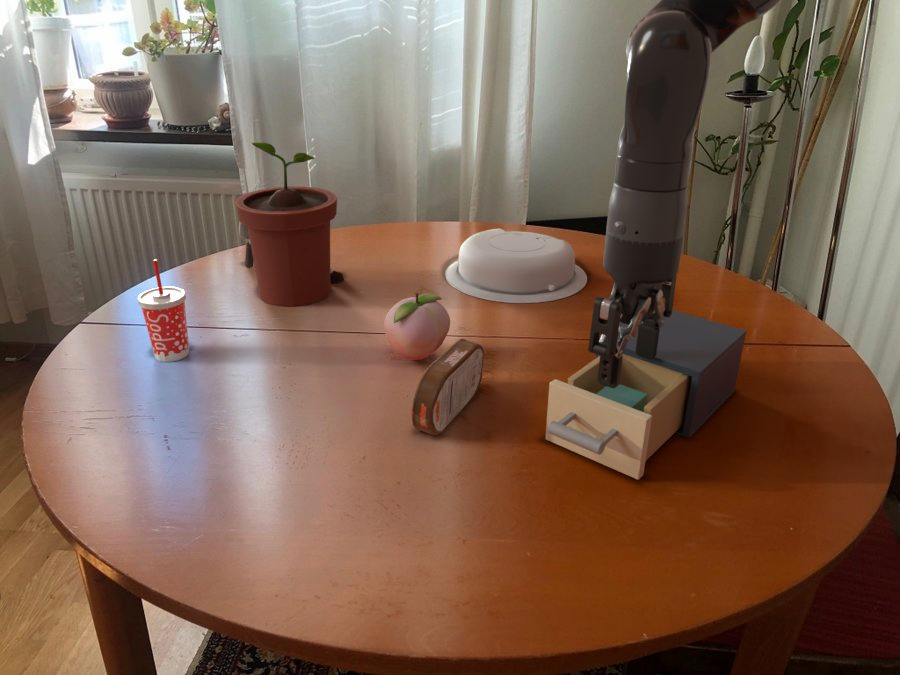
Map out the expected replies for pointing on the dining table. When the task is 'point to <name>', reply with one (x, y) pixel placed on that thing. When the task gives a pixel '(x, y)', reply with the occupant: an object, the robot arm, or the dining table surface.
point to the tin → (447, 386)
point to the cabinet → (697, 361)
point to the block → (625, 396)
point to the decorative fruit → (417, 326)
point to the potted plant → (289, 239)
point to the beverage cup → (165, 320)
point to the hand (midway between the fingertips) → (627, 370)
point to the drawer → (617, 414)
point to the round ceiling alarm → (516, 267)
